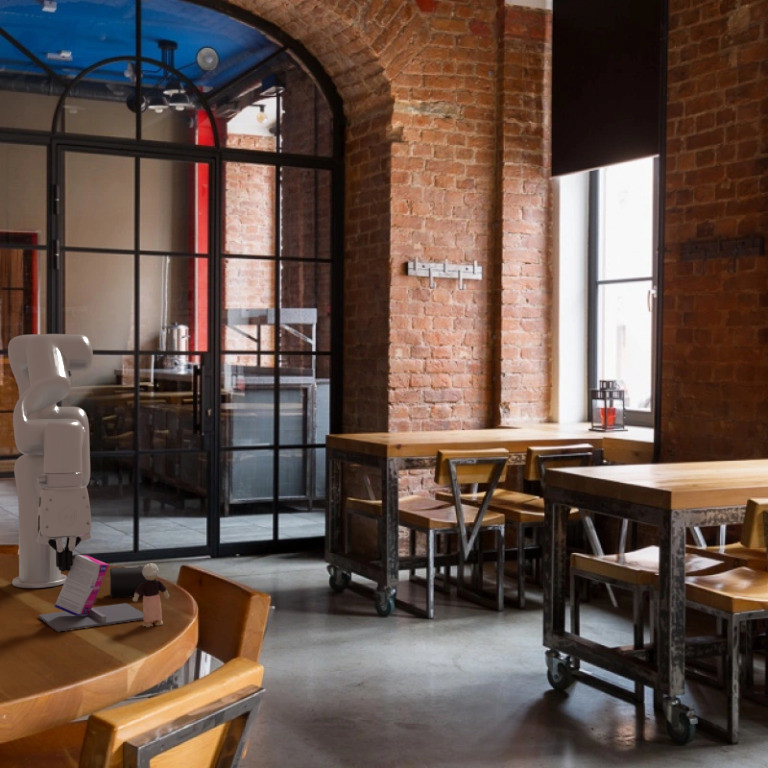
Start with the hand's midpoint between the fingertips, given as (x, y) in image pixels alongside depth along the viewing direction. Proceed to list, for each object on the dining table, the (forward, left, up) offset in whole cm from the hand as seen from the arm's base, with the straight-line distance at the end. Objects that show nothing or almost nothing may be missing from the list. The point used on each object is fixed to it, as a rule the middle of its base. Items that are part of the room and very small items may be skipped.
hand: (64, 570), depth 218 cm
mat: (0, +6, -11) cm, 13 cm away
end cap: (-16, +20, -11) cm, 28 cm away
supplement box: (-1, +2, -9) cm, 9 cm away
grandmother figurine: (+11, +14, -11) cm, 21 cm away
